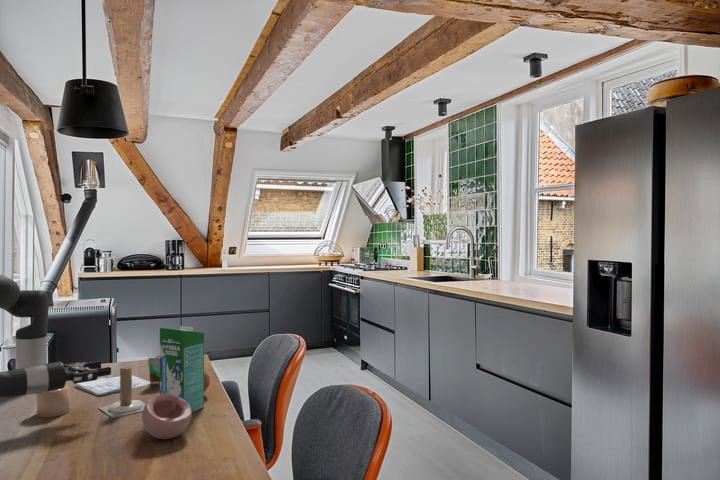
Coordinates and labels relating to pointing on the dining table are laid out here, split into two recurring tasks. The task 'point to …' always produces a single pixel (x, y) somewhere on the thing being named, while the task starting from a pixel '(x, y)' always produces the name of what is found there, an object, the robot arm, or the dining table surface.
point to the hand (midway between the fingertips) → (105, 367)
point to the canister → (52, 403)
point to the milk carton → (182, 365)
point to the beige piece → (125, 394)
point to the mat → (114, 415)
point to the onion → (206, 380)
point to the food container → (154, 371)
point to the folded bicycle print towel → (109, 385)
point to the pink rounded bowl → (166, 416)
